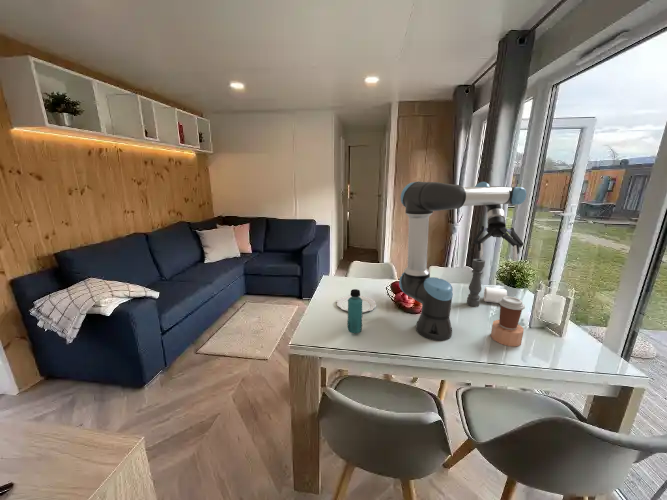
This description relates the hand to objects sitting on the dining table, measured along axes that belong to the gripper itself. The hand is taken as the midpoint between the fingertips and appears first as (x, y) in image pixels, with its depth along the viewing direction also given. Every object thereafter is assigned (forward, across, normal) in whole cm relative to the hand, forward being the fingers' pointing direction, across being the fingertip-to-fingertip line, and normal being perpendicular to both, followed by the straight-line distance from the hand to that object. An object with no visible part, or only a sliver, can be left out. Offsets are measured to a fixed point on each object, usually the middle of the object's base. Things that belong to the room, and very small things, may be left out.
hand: (498, 258), depth 126 cm
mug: (+3, -7, -43) cm, 43 cm away
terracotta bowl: (+32, -4, -12) cm, 35 cm away
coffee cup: (+28, -4, -8) cm, 30 cm away
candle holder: (+9, +4, -36) cm, 37 cm away
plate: (+26, +64, -20) cm, 72 cm away
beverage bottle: (+44, +58, -1) cm, 73 cm away
